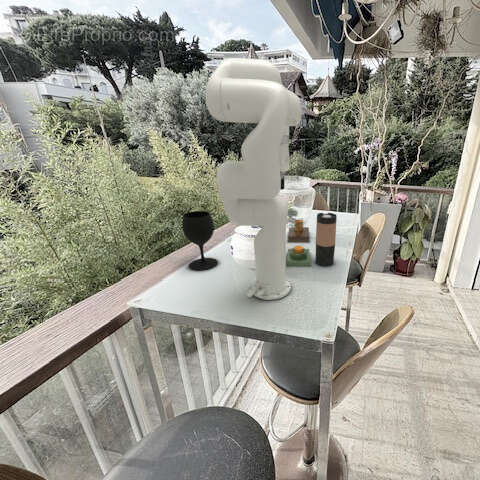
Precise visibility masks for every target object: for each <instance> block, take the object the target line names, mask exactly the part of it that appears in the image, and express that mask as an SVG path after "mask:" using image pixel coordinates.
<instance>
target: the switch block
mask: <svg viewBox="0 0 480 480" xmlns="http://www.w3.org/2000/svg"><path fill="white" fill-rule="evenodd" d="M310 254H311V253H310V248H305V247H304V251H303V252H302V253H295V252H294V247H292V248H288V249H287V253H286V267H310V266H311V256H310Z"/></svg>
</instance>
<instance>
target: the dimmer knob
mask: <svg viewBox="0 0 480 480" xmlns="http://www.w3.org/2000/svg"><path fill="white" fill-rule="evenodd" d="M294 227H295V231H297V232H301V231H303V227H304V220H303V219H294Z"/></svg>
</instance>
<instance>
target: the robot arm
mask: <svg viewBox="0 0 480 480" xmlns="http://www.w3.org/2000/svg"><path fill="white" fill-rule="evenodd" d="M204 92H205V95H204V96H205V104H206V105H205V106H206V107H207V110H208V112H209V114H210V115H211V116H212V118H213V119H215V120H217V121H218V122H222V123H239V124H240V123H241V124H257V125H256V126H255V127H254V129H252V130H251V131H250V132H249V134H248V135H247V136H246V138H244V140H243V142H242V144H241V148H240V153H241V158H242V160H230V161H229V160H228V161H224V162H222V163H221V164H220V165H219V166H218V169H217V172H216V187H217V191H218V194H219V197H220V200H221V203H222V206H223V209H224V212H225V214H226V217H227V219H228V221H229V222H230V224H232V225H234V226H240V227H241V226H245V227H259V228H260V227H261V229H259V231H258V232H257V233H256V234H255V237H254V239H253V249H254V252H253V253H254V267H255V268H254V269H255V280H254V281H253V284H252V286H251V288H250V289H249V290H247V291H246V292H245V294H246V297H248V298H251V297H252V296H254V297H256V298H257V299H260V300H264V301H265V300H266V301H267V300H268V301H274V300H278V299H281V298H284V297H285V296H287V295H288V294H289V293H290V292H291V289H292V285H291V283H290V282H289V281H288V280H287V253H286V252H287V250H286V249H287V248H286V245H287V244H286V241H287V240H286V238H287V237H286V234H287V233H286V231H287V221H288V215H289V202H288V200H287V199H286V197H284V196H283V195H281V194H280V193H281V190H282V191H283V190H285V178H286V177H285V175H286V172H287V171H289V170H290V169H291V164H290V162H291V161H290V149H289V148H290V147H289V145H290V127H297V126H299V125H300V123H302V122H301V121H302V116H303V111H302V110H303V109H302V104H301V99H300V97H299V96H298V95H297V94H296V93H294V92H293V91H291V90H289V89H287V88H286V87H285V86H284V85H283V81H282V75H281V73H280V71H279V68H278V67H277V66H276V65H275V64H274V63H273V62H271V61H269V60H266V59H262V58H261V59H260V58H243V57H227V58H226V59H224V60H222V61H221V62H220V63H219V64H218V65H217V67H216V68H215V70H214V71H213V73H212V75H211V76H210V77H209V79H208V81H207V83H206V87H205V91H204Z"/></svg>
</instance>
